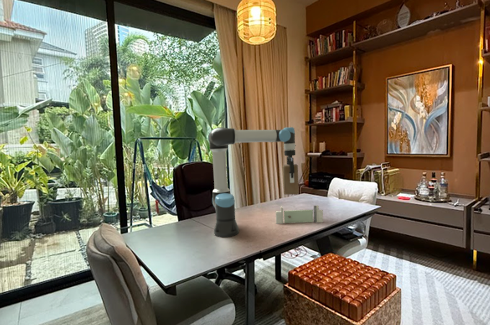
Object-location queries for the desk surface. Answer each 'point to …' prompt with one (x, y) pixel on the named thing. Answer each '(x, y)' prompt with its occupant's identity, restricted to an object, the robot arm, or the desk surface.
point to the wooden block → (289, 187)
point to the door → (298, 216)
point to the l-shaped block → (317, 215)
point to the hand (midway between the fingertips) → (290, 181)
